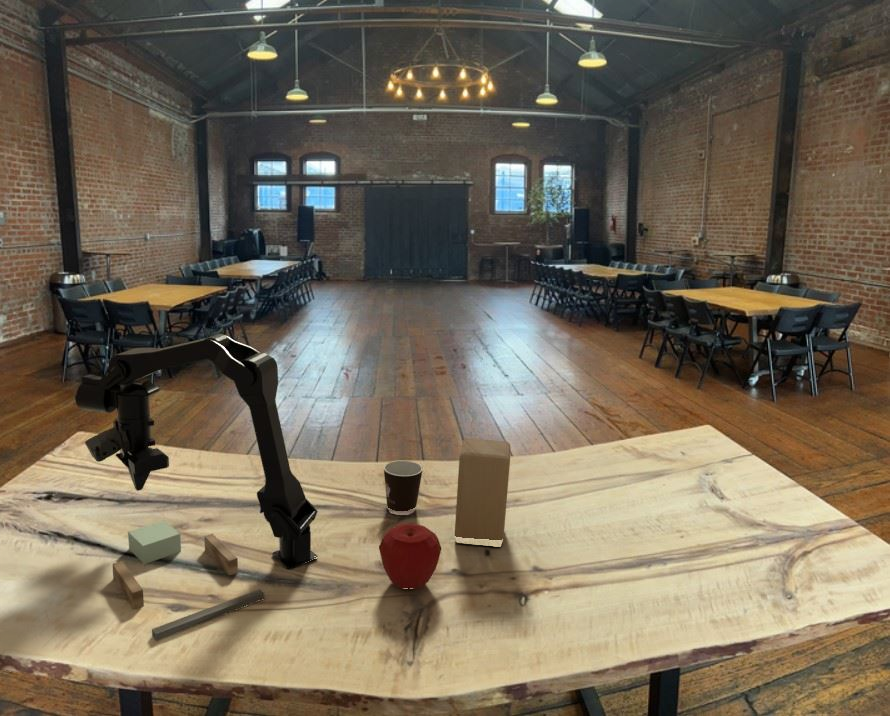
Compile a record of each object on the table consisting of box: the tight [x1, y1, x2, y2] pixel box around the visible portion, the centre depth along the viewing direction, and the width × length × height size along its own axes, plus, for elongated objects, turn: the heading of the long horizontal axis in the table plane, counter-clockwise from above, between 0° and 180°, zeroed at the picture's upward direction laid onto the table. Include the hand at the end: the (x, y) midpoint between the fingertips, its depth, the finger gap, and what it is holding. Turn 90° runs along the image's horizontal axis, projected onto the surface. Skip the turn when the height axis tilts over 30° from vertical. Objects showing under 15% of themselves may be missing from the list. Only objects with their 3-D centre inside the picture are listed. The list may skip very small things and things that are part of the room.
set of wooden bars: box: [111, 533, 265, 642], centre depth 118 cm, size 21×18×3 cm
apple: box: [378, 522, 442, 589], centre depth 122 cm, size 11×11×12 cm
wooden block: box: [454, 437, 511, 540], centre depth 140 cm, size 10×10×20 cm
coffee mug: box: [383, 459, 423, 511], centre depth 152 cm, size 12×9×10 cm
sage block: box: [127, 519, 182, 565], centre depth 129 cm, size 7×7×4 cm
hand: (138, 489), depth 133 cm, fingers closed
